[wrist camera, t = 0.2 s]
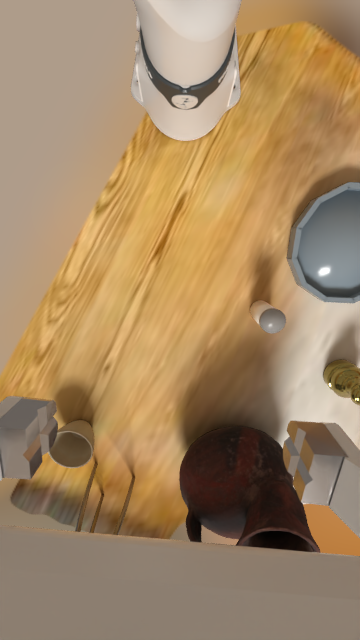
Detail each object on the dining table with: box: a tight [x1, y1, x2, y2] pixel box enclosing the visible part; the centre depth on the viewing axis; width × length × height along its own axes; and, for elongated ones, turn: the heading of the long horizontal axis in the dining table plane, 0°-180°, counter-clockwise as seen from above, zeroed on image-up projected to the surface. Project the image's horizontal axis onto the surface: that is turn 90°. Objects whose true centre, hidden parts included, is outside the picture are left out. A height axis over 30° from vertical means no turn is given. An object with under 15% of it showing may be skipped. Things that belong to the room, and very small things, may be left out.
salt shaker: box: [323, 360, 360, 405], centre depth 56 cm, size 7×7×10 cm
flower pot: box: [48, 420, 94, 468], centre depth 62 cm, size 10×10×7 cm
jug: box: [180, 426, 320, 553], centre depth 55 cm, size 25×25×25 cm
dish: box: [287, 182, 360, 303], centre depth 52 cm, size 22×22×2 cm
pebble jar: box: [250, 300, 286, 333], centre depth 53 cm, size 5×5×8 cm
